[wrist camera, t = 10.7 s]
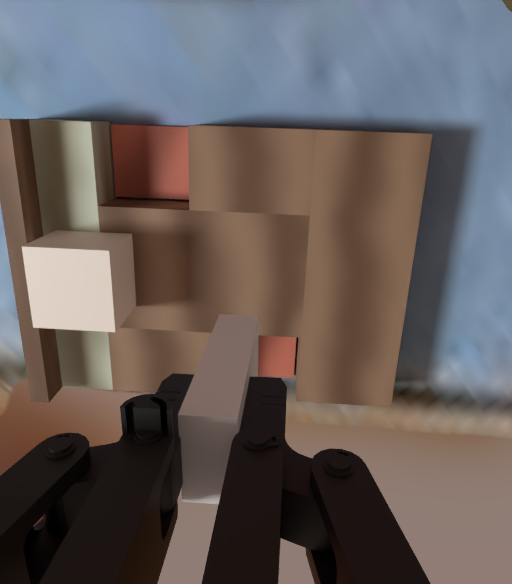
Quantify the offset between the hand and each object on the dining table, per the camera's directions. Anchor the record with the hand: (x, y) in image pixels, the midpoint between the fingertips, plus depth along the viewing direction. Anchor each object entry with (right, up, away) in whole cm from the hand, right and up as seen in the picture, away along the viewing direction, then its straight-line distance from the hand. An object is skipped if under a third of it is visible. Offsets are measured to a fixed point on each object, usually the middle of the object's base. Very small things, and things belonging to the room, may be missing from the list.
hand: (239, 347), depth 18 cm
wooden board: (-2, +5, +23) cm, 23 cm away
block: (-12, +4, +19) cm, 23 cm away
